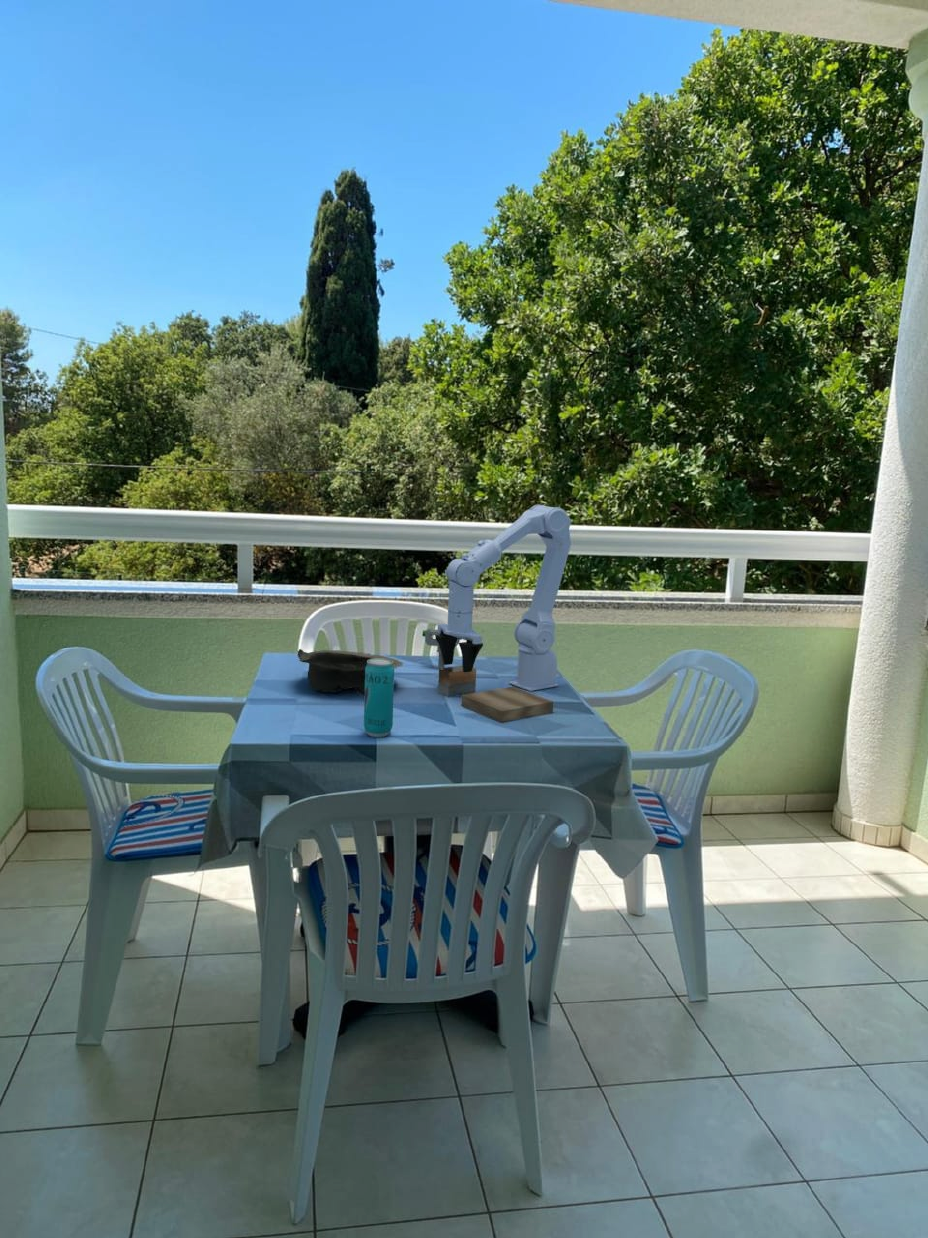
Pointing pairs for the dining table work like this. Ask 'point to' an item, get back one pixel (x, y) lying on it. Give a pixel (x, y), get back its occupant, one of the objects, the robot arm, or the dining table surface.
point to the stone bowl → (338, 669)
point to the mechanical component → (435, 643)
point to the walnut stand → (507, 704)
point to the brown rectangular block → (456, 681)
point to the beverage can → (378, 697)
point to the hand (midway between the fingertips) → (457, 668)
